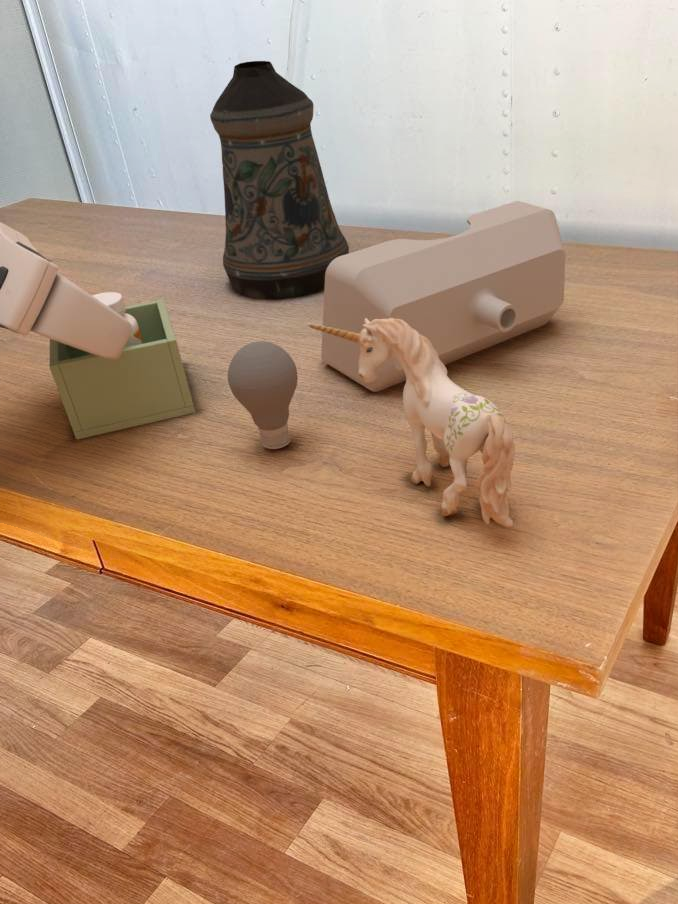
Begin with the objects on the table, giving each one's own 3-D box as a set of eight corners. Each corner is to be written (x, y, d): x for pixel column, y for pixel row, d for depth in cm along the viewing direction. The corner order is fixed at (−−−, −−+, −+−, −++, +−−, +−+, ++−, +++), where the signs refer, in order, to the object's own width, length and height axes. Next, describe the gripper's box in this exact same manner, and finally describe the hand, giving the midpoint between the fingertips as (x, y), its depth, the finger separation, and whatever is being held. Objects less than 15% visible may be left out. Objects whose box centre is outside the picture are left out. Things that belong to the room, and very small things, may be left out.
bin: (76, 440, 82) (49, 366, 77) (74, 390, 91) (49, 321, 86) (195, 412, 84) (176, 339, 79) (181, 366, 93) (163, 298, 88)
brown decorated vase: (286, 310, 103) (245, 82, 88) (189, 283, 114) (138, 75, 99) (376, 267, 113) (354, 54, 98) (279, 245, 124) (245, 50, 109)
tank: (407, 421, 79) (394, 291, 72) (320, 366, 90) (302, 249, 83) (598, 339, 90) (605, 219, 82) (500, 299, 101) (498, 190, 93)
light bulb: (232, 459, 76) (207, 357, 70) (263, 426, 81) (242, 327, 75) (291, 467, 74) (271, 362, 68) (319, 433, 79) (303, 332, 73)
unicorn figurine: (387, 434, 78) (371, 293, 70) (562, 508, 66) (568, 350, 58) (329, 468, 74) (305, 323, 66) (504, 553, 62) (502, 391, 54)
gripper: (-71, 281, 79) (60, 342, 90) (17, 333, 67) (157, 397, 78) (-43, 219, 79) (85, 288, 90) (51, 261, 66) (187, 335, 77)
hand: (119, 339), depth 84 cm, fingers closed on supplement bottle, 5 cm apart
